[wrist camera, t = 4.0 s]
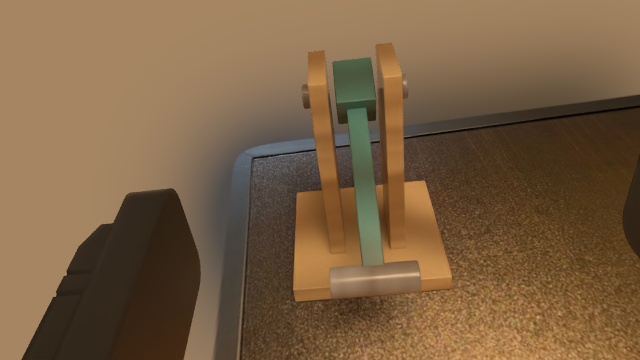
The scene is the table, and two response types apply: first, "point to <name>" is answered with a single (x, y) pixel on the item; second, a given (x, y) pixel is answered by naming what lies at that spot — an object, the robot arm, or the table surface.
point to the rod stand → (340, 204)
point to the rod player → (365, 193)
